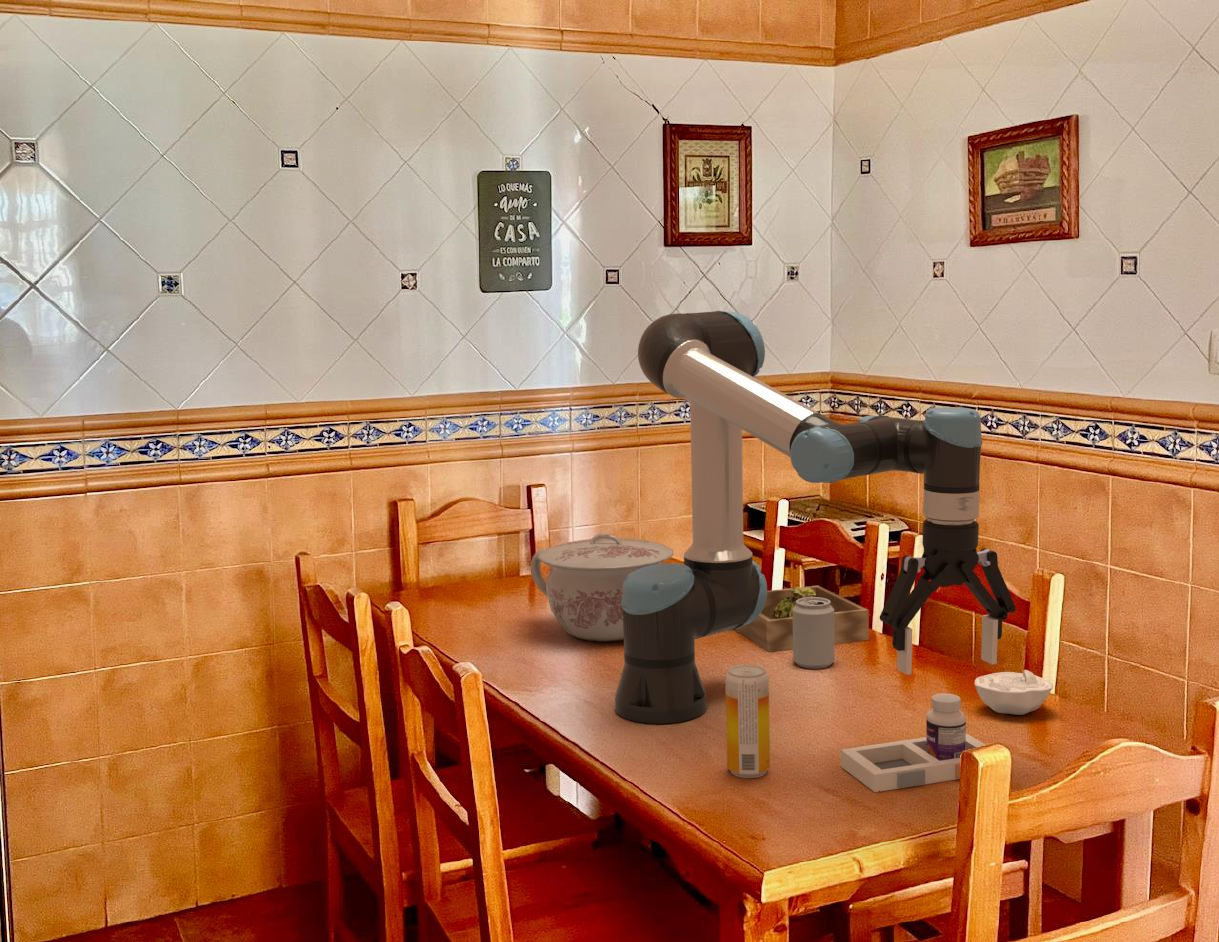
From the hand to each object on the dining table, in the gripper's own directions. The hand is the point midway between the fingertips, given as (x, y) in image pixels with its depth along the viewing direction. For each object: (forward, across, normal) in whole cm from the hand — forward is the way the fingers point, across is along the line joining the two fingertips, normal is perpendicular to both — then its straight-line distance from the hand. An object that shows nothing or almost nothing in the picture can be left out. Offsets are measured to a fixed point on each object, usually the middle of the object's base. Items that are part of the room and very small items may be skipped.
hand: (946, 666), depth 175 cm
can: (+16, +4, +50) cm, 53 cm away
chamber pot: (+17, -25, +85) cm, 90 cm away
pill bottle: (+14, 0, -1) cm, 14 cm away
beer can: (+15, -27, +7) cm, 32 cm away
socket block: (+14, -4, -1) cm, 15 cm away
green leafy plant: (+16, +11, +70) cm, 73 cm away
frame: (+16, +10, +71) cm, 74 cm away
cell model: (+15, +22, +15) cm, 30 cm away
